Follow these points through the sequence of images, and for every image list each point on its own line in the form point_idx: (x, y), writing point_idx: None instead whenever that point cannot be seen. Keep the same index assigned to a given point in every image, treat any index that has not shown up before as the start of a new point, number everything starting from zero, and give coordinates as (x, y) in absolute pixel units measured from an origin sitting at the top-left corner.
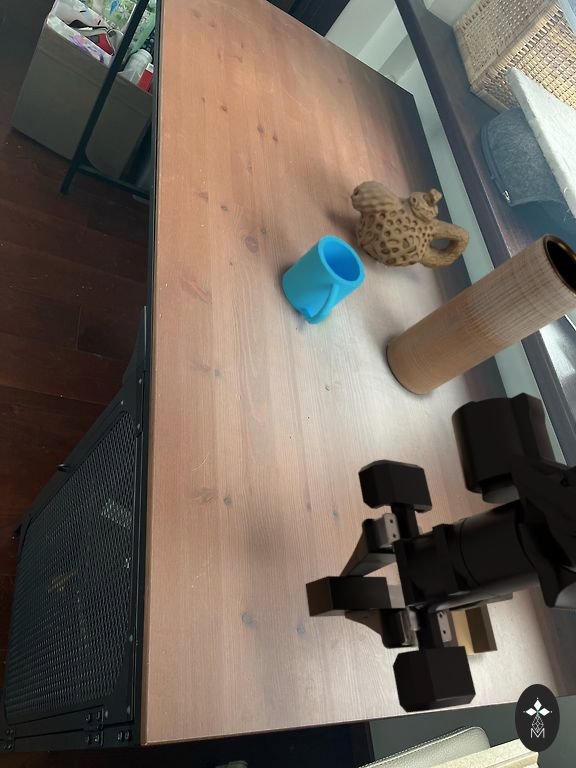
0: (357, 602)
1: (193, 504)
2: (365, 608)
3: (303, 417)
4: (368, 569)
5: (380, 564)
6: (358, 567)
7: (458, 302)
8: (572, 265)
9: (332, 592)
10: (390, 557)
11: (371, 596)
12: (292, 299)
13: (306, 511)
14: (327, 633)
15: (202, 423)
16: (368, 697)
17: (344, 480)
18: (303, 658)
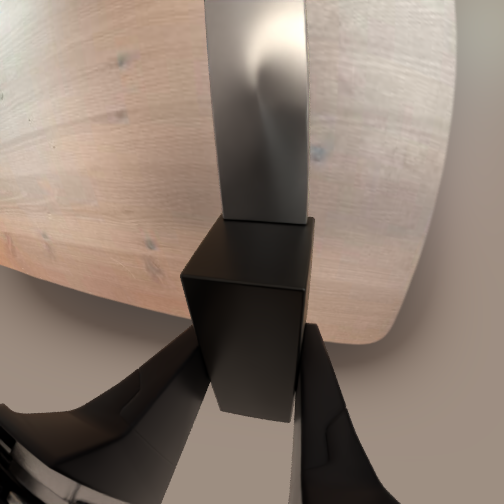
0: (275, 388)
1: (167, 283)
2: (294, 374)
3: (31, 127)
4: (179, 405)
5: (155, 431)
6: (185, 433)
7: None
8: None
9: (253, 416)
10: (131, 481)
11: (258, 349)
12: None
13: (128, 119)
14: (326, 97)
15: (89, 259)
16: (434, 42)
17: (75, 50)
18: (362, 158)
